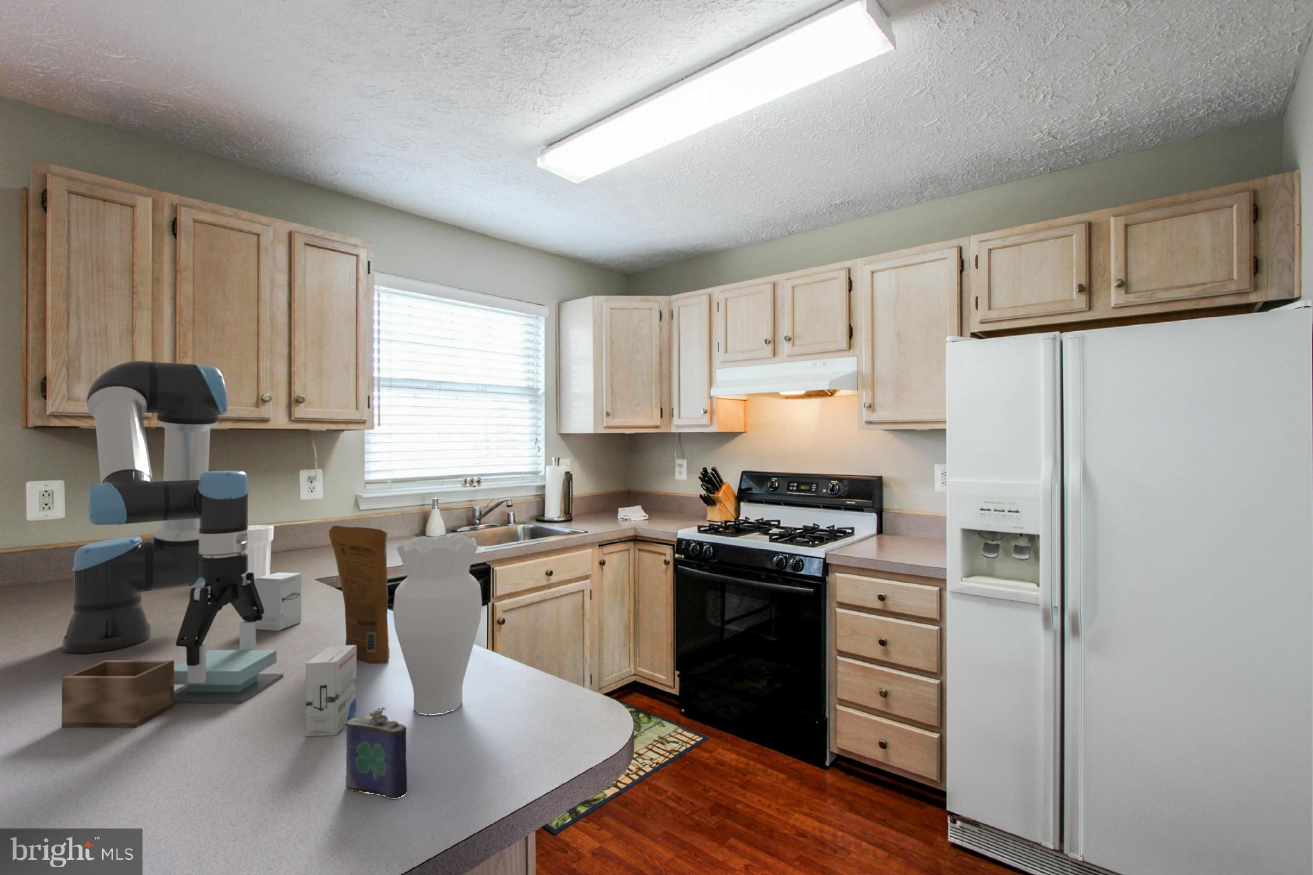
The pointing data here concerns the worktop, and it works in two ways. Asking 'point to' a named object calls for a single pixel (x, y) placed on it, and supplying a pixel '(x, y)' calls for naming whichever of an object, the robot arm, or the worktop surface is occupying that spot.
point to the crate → (117, 693)
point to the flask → (376, 755)
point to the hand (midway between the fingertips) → (223, 668)
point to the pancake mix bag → (363, 589)
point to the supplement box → (279, 600)
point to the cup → (259, 549)
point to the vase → (437, 618)
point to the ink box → (330, 690)
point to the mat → (226, 697)
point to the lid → (228, 670)
